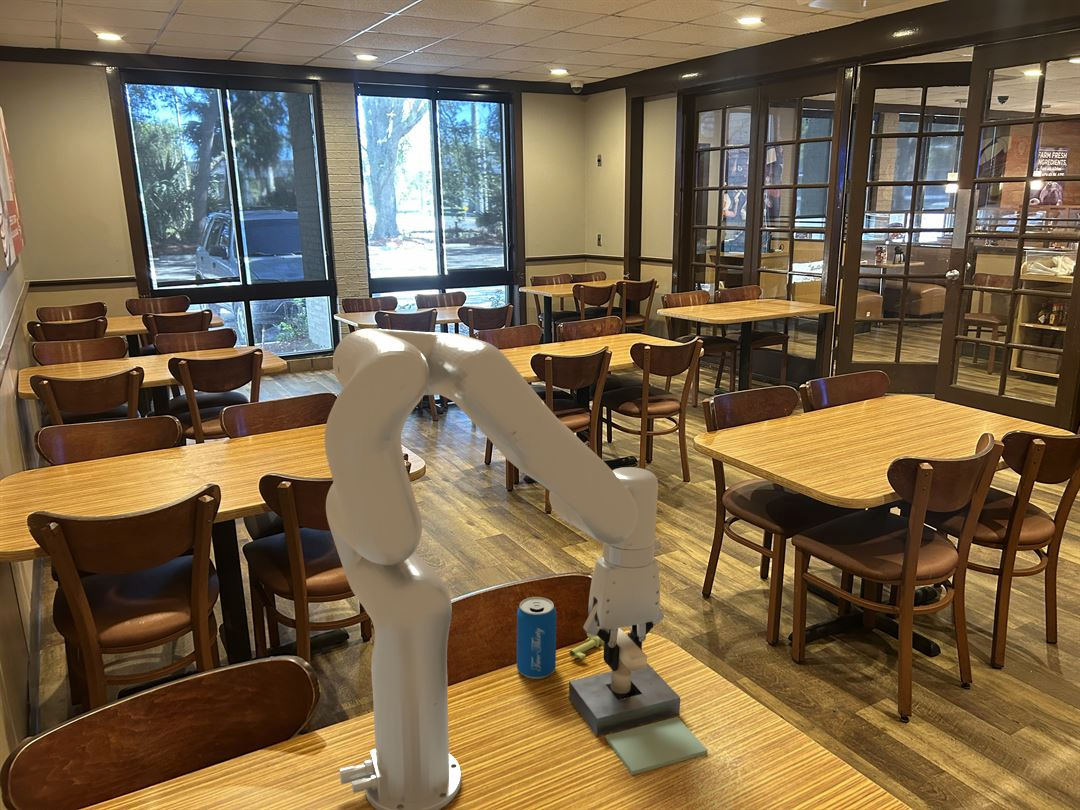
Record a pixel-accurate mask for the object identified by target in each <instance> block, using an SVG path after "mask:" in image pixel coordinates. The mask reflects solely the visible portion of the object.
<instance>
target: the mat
mask: <svg viewBox="0 0 1080 810" xmlns="http://www.w3.org/2000/svg"><path fill="white" fill-rule="evenodd" d="M605 741H606V742H607V743H608V744H609V745H610V747H611V748H612V749H613V751H614V752H615V754H616V756H618V758H619V759H620V761H621V762H622V763H623V765H624V767H626V769H627V770H628V771H629V773H630V774H631V776H634V775H637V774H638V775H639V774H642V773H645V772H648V771H652V770H656V769H659V768H662V767H666V766H670V765H672V764H676V763H679V762H684V761H686V760H690V759H694V758H697V757H700V756H701V757H702V756H704V755H708V749H707V747H705V745H704V744H703V743H702V742H701V740H699V739H698V738H697V737H696V736H695V734H693V732H692V731H691V730H690V728H688V727H687V726H686V724H684V722H683V721H682V720H681V719H680V718H679V717H678V716H674V717H670V718H666V719H663V720H659V721H655V722H651V723H650V724H649V723H647V724H646V725H645V724H643V725H640V726H636V727H632V728H628V729H624V730H620V731H617V732H613V733H609V734H605Z"/></svg>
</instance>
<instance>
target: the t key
mask: <svg viewBox="0 0 1080 810" xmlns="http://www.w3.org/2000/svg"><path fill="white" fill-rule="evenodd" d="M616 645H617V646H618V647H619V663H618V670H617V671H613V670H612V669H611V671H612V674H611V689H612V690H613V691H614V692H616V693H620V694H624V693H628V692H629V691H630V688H631V671H636V670H641V669H646V667H647V663H648V655H647V654H646V653H645V651H643V650H641V649H640V648H639V647H638V646H637V645H636V644H635V643H634V642H633V641H632V640H631V639H630V638H629V637H628V634H626V633H625V631H624V630H622V629H621V628H618V635H617V641H616Z"/></svg>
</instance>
